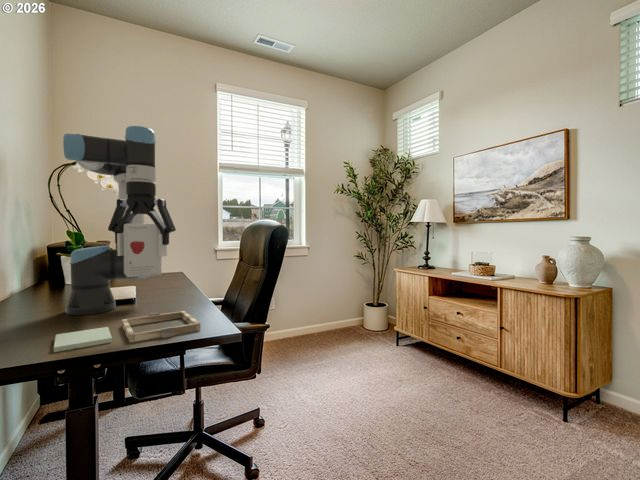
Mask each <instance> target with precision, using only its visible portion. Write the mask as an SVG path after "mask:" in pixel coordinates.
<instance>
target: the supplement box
mask: <svg viewBox="0 0 640 480" xmlns="http://www.w3.org/2000/svg"><path fill="white" fill-rule="evenodd" d="M159 234H161V231H160V230H159V229H158V227H157V226H156V225H155V223H144V224H124V274H125V275H126V276H127V277H138V276H149V277H151V276H153V277H154V276H162V257H159Z"/></svg>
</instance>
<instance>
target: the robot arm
mask: <svg viewBox="0 0 640 480" xmlns="http://www.w3.org/2000/svg"><path fill="white" fill-rule="evenodd" d="M155 134H156V133H155V132H154V130H153V129H152V128H148V127H145V126H140V125H129V126H127V127H126V128H125V136H124V140H123V139H116V138H108V137H100V136H93V135H92V136H91V135H85V134H80V133H68V132H67V133H64V135H63V137H62V138H63V144H62V145H63V146H62V147H63V155H64V158H65V159H66V160H68V161H74V162H76V163H77V164H78V166H80V167H81V168H82V169H84V170H87V171H89V172H93V173H94V174H95V173H96V174H98V175H99V174H100V175H105V176H107V175H108V176H113V180H114V181H115V182H116V183H117V185H118V198H117V199H116V207H115V209H114V212H113V215H112V217H111V220H110V222H109V225H108V227H107V230H108V231H109V232H112V233H114V238H115V239H114V244H115V248H113V249H112V248H110V246H109V245H101V246H99V245H97V246H90V247H85V248H84V247H83V248H78V249H74V250H73V251H72V252H71V253H70V262H69V265H70V283H71V284H70V289H71V290H70V294H69V296H68V299H67V302H66V305H65V309H64V310H65V314H66V315H69V316H86V315H87V316H88V315H94V314H95V315H96V314H101V313H106V312H110V311H112V310H114V309H116V305H117V303H116V299H115V296H114V295H113V292H112V290H111V287H110V286H111V285H110V284H111V281H119V280H120V281H121V280H130V279H133V280H134V279H144V278H149V277H150V276H138V277H127V276H126V275H125V274H124V224H145V215H147V216H149V218H150V219H151V221H153V224H155V225H156V226H157V227H158V229H159V230H160V231H161V234H159V257H161V258H162V257H167V256H168V251H167V246H168V245H169V244H170V233H174V232H176V227H175V224H174V222H173V220H172V219H173V218H172V217H171V215H170V212H169V210H168V208H167V201H166V199H163V198H158V199H156V194H157V193H156V192H157V191H156V190H157V189H156V185H157V184H156V183H155V182H156V143H157V141H156V135H155ZM155 207H157V209H155ZM157 210H158V212H159V213H158V212H157ZM159 214H160V215H159ZM160 216H161V217H160Z"/></svg>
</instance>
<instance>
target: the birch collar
mask: <svg viewBox="0 0 640 480" xmlns="http://www.w3.org/2000/svg"><path fill="white" fill-rule="evenodd" d="M176 319H183V321H185V322H186V323H187V324H183V325H182V324H181V325H176V326H169V327H163V328H158V329H151V330H144V331H140V332H134V330H133V328H132V327H131V326H137V325H143V324H150V323H151V324H152V323H156V322H164V321H170V320H176ZM121 326H122V330H124V334H125V336H126V337H127V340H128V342H129V343H134V342H135V343H136V342H142V341H146V340H152V339H159V338H162V339H163V338H164V339H165V338H169V337H174V336H175V335H176V336H177V335H181V334H188V333H192V332H196V331H201V322H199V321H198V320H197V319H196V318H194V317H193V316H192V315H190V314H189V313H188V312H186V310H182V311H173V312H166V313H160V312H153V313H148V315H146V316H145V315H144V316H139V317H138V316H136V317H130V318H125V319H121Z"/></svg>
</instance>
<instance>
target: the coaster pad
mask: <svg viewBox="0 0 640 480" xmlns="http://www.w3.org/2000/svg"><path fill="white" fill-rule="evenodd" d="M112 342H113V337H112V334H111V331H110V329H109V326H105V327H98V328H91V329H84V330H78V331H77V330H76V331H71V332H64V333H58V334H55V338H54V343H53V344H54V345H53V353H58V352H64V351H70V350H75V348H76V349H79V348H80V349H82V348H85V347H92V346H99V345H104V344H109V343H112Z"/></svg>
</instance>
